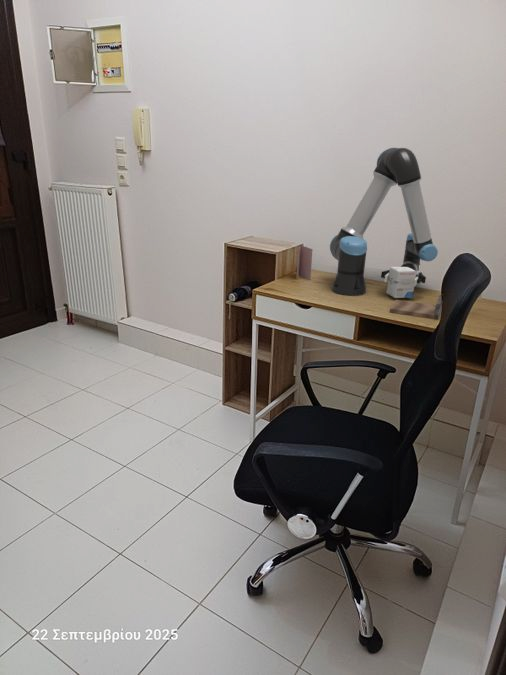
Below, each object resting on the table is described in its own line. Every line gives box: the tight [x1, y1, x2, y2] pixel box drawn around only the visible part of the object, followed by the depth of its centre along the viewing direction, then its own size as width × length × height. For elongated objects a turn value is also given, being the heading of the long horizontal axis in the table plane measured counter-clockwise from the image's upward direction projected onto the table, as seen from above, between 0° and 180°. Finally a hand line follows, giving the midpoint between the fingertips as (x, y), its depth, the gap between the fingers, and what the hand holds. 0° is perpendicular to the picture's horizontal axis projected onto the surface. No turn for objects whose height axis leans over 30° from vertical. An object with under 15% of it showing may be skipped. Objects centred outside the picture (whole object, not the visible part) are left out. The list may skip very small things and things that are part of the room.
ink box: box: [386, 266, 417, 299], centre depth 207 cm, size 9×8×12 cm
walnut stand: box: [389, 294, 442, 320], centre depth 191 cm, size 18×14×6 cm
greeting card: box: [295, 244, 313, 281], centre depth 236 cm, size 11×7×15 cm, turn 169°
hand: (400, 281), depth 203 cm, fingers closed on ink box, 11 cm apart
